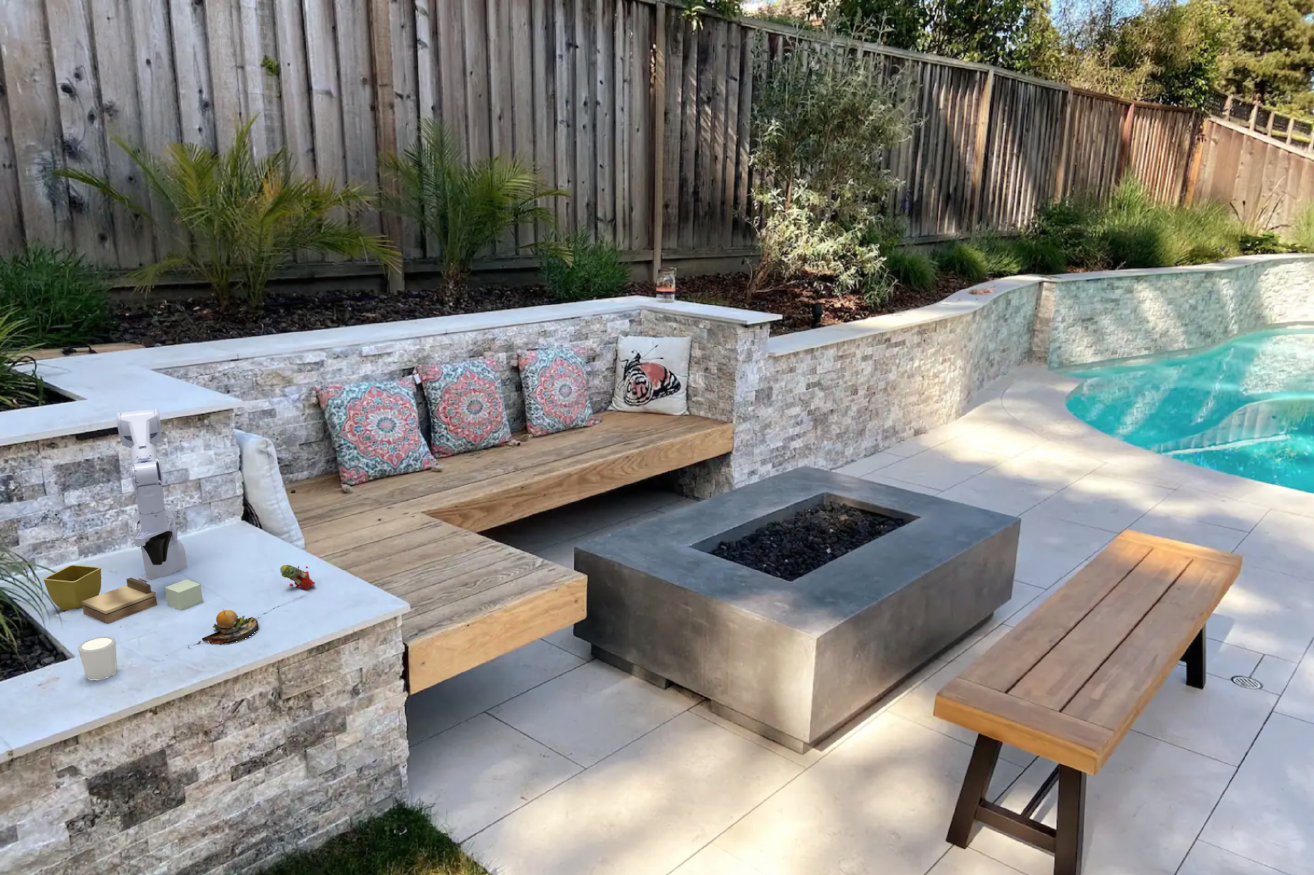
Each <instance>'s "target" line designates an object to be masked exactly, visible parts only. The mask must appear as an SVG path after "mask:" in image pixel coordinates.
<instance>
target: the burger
mask: <svg viewBox="0 0 1314 875" xmlns="http://www.w3.org/2000/svg"><path fill="white" fill-rule="evenodd" d="M245 617H246V615H242V617H241V616H240V617H239V616H238V615H237V612H235V611H234V610H231V609H222V610H221V611H220V612H218V614H217V616H216V618H215V621H216V623H214V624H213V625H212V628H213V629H217V630H218V631H216V632H214V633H210V634H209V635H207V636H205V637H202V638H201V639H202V640H203V641H205V642H208V643H209V644H210V645H211V644H213V645H216V644H217V643H218V645H228V644H232V643H233V644H234V643H237V642H236V641H238V642H241V641H243V640H246V639H245V638H247V639H249V638H250V637H249V636H251V637H252V636H254V635H256V633H257V632H258V631H259V622H258V620H257V618H255V617H252V616H251V617H248V618H245ZM256 631H257V632H256ZM254 632H256V633H254ZM252 634H254V635H252Z"/></svg>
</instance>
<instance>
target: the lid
mask: <svg viewBox="0 0 1314 875" xmlns="http://www.w3.org/2000/svg"><path fill="white" fill-rule="evenodd" d="M153 596H157V593H156V592H154V591H152V588H151V584H150V583H148V582H146V581H143V580H140V579H137V578H135V577H128V578H126V585H124V586H121V587H118V588H116V589H112V590H110V591H107V592H103V593H101V594H99V595H98V596H95V597H93V598H90V599H87V600H84V601H82V604H83V605H85V606H88V607H90V608H92V609H95V610H97V611H100V612H102V613H104V614H107V613H110V612H113V611H115V610H118V609H121V608H123V607H126V606H129V605H131V604H134V603H137V602H139V601H142V600H145V599H147V598H150V597H153Z"/></svg>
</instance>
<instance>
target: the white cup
mask: <svg viewBox="0 0 1314 875" xmlns="http://www.w3.org/2000/svg"><path fill="white" fill-rule="evenodd" d="M116 642H117V641H116V639H115V638H114V637H112V636H98V637H93V638H90V639H87V640H84V641H83V642H82V643H80V644H78V647H77V650H78V655H79V657H80V659H81V664H82V667H83V670H84V673H85V677H86V679H87V678H89V679H103V680H105V679H104V678H106V677H109V678H111V677H112V676H111V675H113V674H114V675H115V673H116V674H117V672H118V664H117V662H118V661H117V660H118V659H117V644H116ZM116 671H117V672H116ZM114 675H113V676H114ZM110 676H111V677H110ZM106 679H107V678H106Z"/></svg>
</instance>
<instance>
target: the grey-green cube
mask: <svg viewBox="0 0 1314 875" xmlns="http://www.w3.org/2000/svg"><path fill="white" fill-rule="evenodd" d="M164 591H165V597H166V603H167V604H166V605H167V606H168V607H172V608H174V609H177V610H179V611H183V610H185V609H186V610H187V609H188V608H191V607H193V606H197V605H199V604H201V603H203V602H204V601H203V598H204V597H203V593H202V584H201V583H198V582H195V581H192V580H190V579H183V580H181V581H179V582H176V583H173V584H171V585H167V586H165V587H164Z"/></svg>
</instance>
